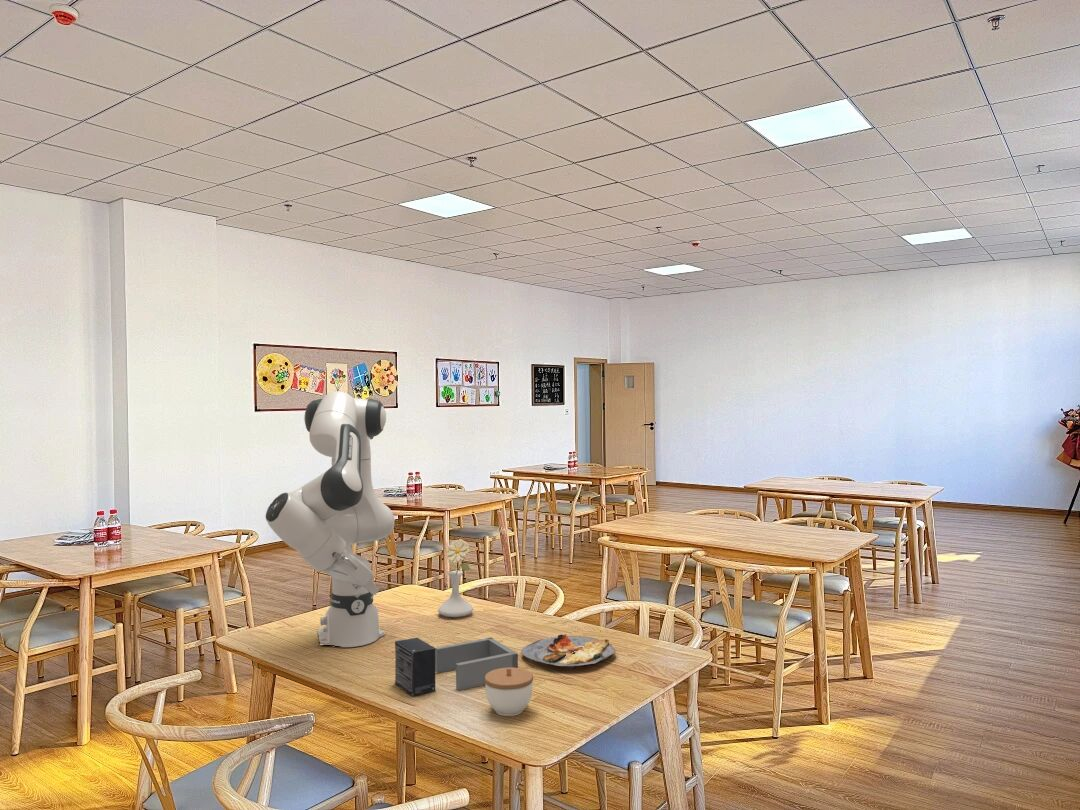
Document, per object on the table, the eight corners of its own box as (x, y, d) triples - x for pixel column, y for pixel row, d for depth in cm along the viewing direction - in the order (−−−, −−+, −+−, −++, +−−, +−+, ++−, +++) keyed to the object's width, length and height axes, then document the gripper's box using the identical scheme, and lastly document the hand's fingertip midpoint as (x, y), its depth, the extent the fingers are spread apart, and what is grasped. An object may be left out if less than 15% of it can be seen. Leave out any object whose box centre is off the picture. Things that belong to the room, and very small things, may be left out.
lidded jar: (481, 703, 169) (481, 662, 169) (527, 698, 171) (527, 658, 171) (489, 723, 158) (488, 679, 158) (538, 717, 161) (537, 674, 161)
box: (435, 671, 190) (434, 647, 190) (491, 659, 198) (491, 637, 198) (458, 690, 177) (458, 665, 177) (518, 677, 185) (517, 653, 185)
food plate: (559, 637, 217) (558, 625, 217) (629, 652, 203) (629, 639, 203) (506, 662, 196) (506, 649, 196) (580, 680, 183) (580, 666, 183)
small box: (437, 691, 177) (437, 647, 177) (412, 697, 173) (411, 652, 173) (418, 677, 185) (418, 635, 185) (394, 683, 182) (393, 640, 182)
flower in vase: (431, 615, 241) (430, 538, 241) (459, 608, 248) (458, 533, 248) (455, 623, 231) (453, 543, 231) (483, 616, 239) (482, 538, 239)
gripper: (353, 544, 161) (395, 584, 166) (320, 537, 177) (359, 573, 182) (333, 567, 158) (377, 607, 163) (301, 558, 174) (342, 594, 180)
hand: (367, 589), depth 173 cm, fingers open, 8 cm apart
